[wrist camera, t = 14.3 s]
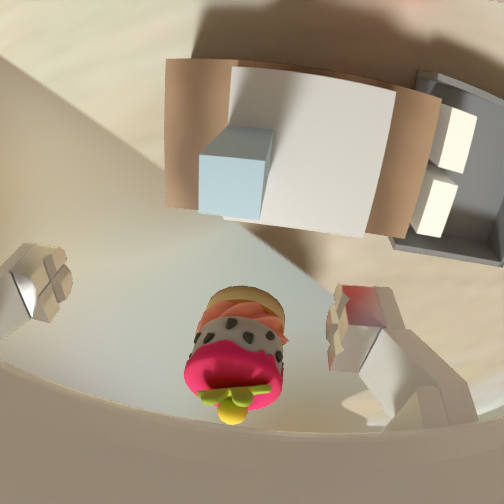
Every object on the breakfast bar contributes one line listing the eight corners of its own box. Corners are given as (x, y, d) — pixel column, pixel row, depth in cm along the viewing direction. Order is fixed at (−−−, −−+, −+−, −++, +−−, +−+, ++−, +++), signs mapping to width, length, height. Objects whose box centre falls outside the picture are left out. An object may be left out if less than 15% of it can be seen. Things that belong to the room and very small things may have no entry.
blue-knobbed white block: (227, 207, 26) (199, 277, 18) (237, 66, 19) (202, 68, 12) (358, 225, 25) (381, 300, 17) (387, 89, 19) (441, 107, 11)
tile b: (416, 233, 25) (440, 237, 25) (433, 179, 22) (458, 185, 22) (401, 208, 29) (422, 212, 29) (413, 160, 26) (436, 166, 26)
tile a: (438, 166, 22) (462, 173, 22) (452, 107, 19) (477, 116, 19) (417, 149, 26) (439, 155, 26) (428, 98, 23) (451, 106, 23)
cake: (297, 336, 41) (293, 440, 29) (224, 348, 44) (202, 443, 32) (271, 274, 36) (257, 389, 24) (189, 293, 39) (150, 395, 27)
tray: (382, 225, 31) (393, 249, 27) (417, 70, 22) (438, 72, 18) (485, 244, 30) (502, 267, 27) (526, 115, 22) (552, 126, 18)
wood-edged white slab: (187, 180, 31) (166, 206, 26) (190, 58, 24) (166, 59, 19) (387, 207, 30) (404, 238, 25) (414, 90, 23) (441, 98, 18)
